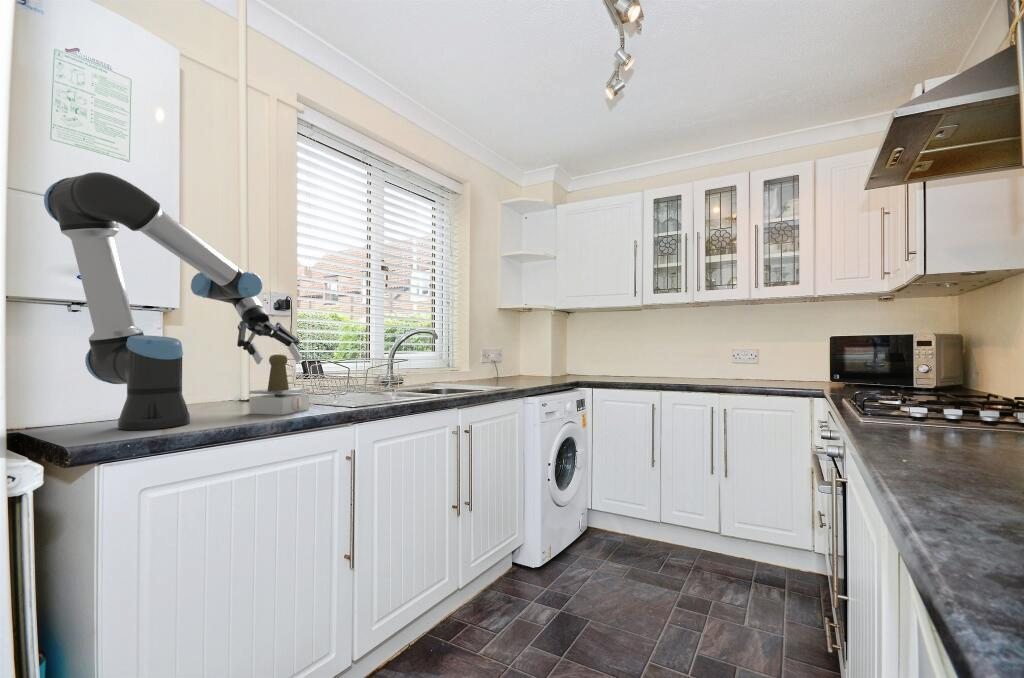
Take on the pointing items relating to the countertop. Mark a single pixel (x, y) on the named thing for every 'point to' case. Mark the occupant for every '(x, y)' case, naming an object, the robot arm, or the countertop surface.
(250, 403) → the kitchen scale
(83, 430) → the countertop surface
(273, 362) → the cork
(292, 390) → the scale pan
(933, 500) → the countertop surface
